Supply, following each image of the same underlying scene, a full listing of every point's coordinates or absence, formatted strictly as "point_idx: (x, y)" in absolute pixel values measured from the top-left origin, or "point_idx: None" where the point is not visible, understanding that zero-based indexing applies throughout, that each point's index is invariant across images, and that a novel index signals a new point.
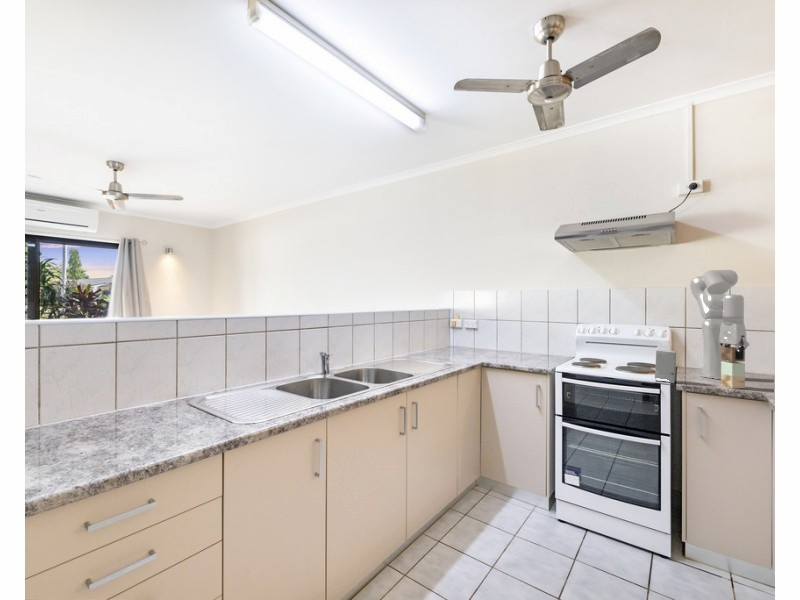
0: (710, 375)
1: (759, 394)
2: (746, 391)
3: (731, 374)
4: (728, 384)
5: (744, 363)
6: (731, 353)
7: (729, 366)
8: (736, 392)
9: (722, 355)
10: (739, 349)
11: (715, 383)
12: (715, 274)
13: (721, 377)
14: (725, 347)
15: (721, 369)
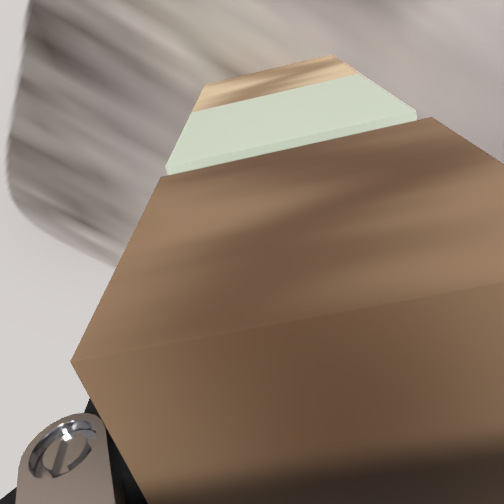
0: None
1: (29, 186)
2: (122, 150)
3: (201, 114)
4: (246, 80)
5: None
6: (144, 255)
7: (229, 135)
8: (32, 23)
9: (425, 152)
10: (30, 484)
11: (452, 67)
12: None
13: (344, 66)
14: (494, 349)
15: (371, 84)
